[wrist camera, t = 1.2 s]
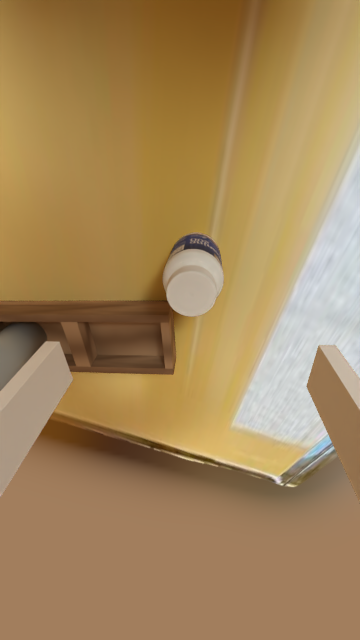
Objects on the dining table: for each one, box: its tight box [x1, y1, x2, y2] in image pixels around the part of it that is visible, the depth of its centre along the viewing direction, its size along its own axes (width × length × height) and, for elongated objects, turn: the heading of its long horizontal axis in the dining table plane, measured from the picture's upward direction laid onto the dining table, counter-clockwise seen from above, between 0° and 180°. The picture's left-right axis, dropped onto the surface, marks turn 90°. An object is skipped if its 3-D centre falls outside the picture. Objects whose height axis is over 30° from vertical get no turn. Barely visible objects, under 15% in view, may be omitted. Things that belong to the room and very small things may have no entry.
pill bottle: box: [163, 233, 224, 317], centre depth 24 cm, size 5×5×10 cm
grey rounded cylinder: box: [0, 322, 47, 391], centre depth 31 cm, size 5×5×9 cm
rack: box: [0, 301, 176, 375], centre depth 33 cm, size 9×24×4 cm, turn 93°
